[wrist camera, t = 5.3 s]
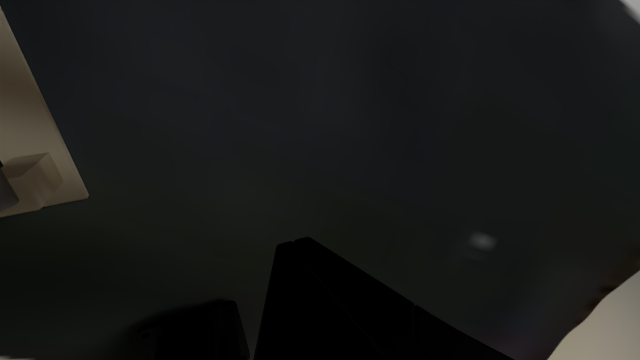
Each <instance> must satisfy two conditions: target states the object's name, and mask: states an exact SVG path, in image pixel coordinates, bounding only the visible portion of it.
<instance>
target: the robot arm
mask: <svg viewBox="0 0 640 360" xmlns="http://www.w3.org/2000/svg"><path fill="white" fill-rule="evenodd" d="M229 307H232V308H229ZM145 333H146V334H145ZM137 339H138V341H139V342H140V344H141V346H142V348H143V350H144V352H145V354H146V356H147V358H148V360H249V358H250V354H249V349H248V345H247V341H246V338H245V334H244V330H243V327H242V323H241V319H240V315H239V312H238V308H237V304H236V302H235V301H226V302H223V303H219V304H216V305H212V306H209V307H206V308H202V309H199V310H196V311H192V312H189V313H185V314H182V315H179V316H175V317H172V318H169V319H165V320H162V321H159V322H155V323H152V324H148V325H145V326H142V327H141V328H140V329H139V330H138V334H137ZM253 360H514V359H512V358H510V357H508V356H506V355H504V354H502V353H501V352H499V351H497V350H495V349H493V348H491V347H489V346H487V345H485V344H483V343H481V342H479V341H478V340H476V339H474V338H472V337H470V336H468V335H466V334H465V333H463V332H461V331H459V330H457V329H455V328H454V327H452V326H450V325H449V324H447V323H445V322H444V321H442V320H440V319H439V318H437V317H435V316H434V315H432V314H430V313H429V312H427V311H426V310H424V309H423V308H421V307H419V306H418V305H416V306H415V305H414V303H413V302H411V301H410V300H408V299H407V298H405V297H403V296H402V295H400V294H399V293H397V292H396V291H394V290H392V289H391V288H389V287H388V286H386V285H384V284H383V283H381V282H380V281H378V280H377V279H375V278H373V277H372V276H370V275H369V274H367V273H366V272H364V271H362V270H361V269H359V268H358V267H356V266H354V265H353V264H351V263H350V262H348V261H347V260H345V259H343V258H342V257H340V256H339V255H337V254H336V253H334V252H332V251H331V250H329V249H328V248H326V247H324V246H323V245H321V244H320V243H318V242H317V241H315V240H313V239H312V238H310V237H304V238H300V239H297V240H295V241H294V242H292V241H289V242H285V243H281V244H278V245H277V247H276V251H275V256H274V261H273V266H272V271H271V276H270V281H269V285H268V290H267V295H266V300H265V305H264V310H263V315H262V320H261V325H260V330H259V335H258V340H257V345H256V349H255V354H254V359H253Z"/></svg>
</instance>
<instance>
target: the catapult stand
mask: <svg viewBox="0 0 640 360" xmlns="http://www.w3.org/2000/svg"><path fill="white" fill-rule="evenodd" d="M0 161H1V162H2V164H3V167H1V170H2V171H3V173H4V175H5V176H6V178H7V180H8V181H9V183H10V185H11V186H12V188H13V190H14V191H15V193H16V195H17V197H18V198H19V200H20V201H19V202H18V203H17V204H16V205H14V206H12V207H10V208H8V209H5V210H2V211H0V217H4V216H9V215H14V214H19V213H24V212H30V211H35V210H40V208H41V207H45V206H50V205H56V204H61V203H66V202H71V201H76V200H81V199H87V197H88V196H89V194H88V192H87V190H86V188H85V185H84V183H83V181H82V179H81V177H80V175H79V173H78V171H77V168H76V166H75V164H74V162H73V160H72V158H71V156H70V154H69V151H68V149H67V147H66V145H65V143H64V141H63V139H62V137H61V134H60V132H59V130H58V128H57V126H56V124H55V122H54V120H53V117H52V115H51V113H50V111H49V109H48V107H47V105H46V103H45V100H44V98H43V96H42V94H41V92H40V90H39V88H38V86H37V84H36V81H35V79H34V77H33V75H32V73H31V71H30V69H29V67H28V64H27V62H26V60H25V58H24V56H23V54H22V52H21V50H20V47H19V45H18V43H17V41H16V39H15V37H14V35H13V33H12V30H11V28H10V26H9V24H8V22H7V20H6V18H5V16H4V13H3V11H2V9H1V7H0Z"/></svg>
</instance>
